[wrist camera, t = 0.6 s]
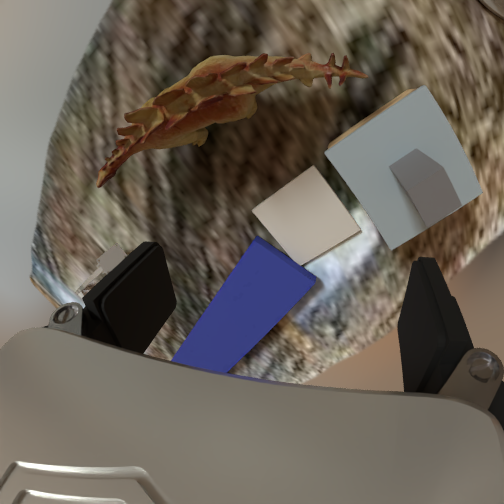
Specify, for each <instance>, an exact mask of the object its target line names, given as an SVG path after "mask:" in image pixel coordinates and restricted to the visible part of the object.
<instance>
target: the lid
mask: <svg viewBox="0 0 504 504" xmlns="http://www.w3.org/2000/svg"><path fill="white" fill-rule="evenodd" d="M324 154H325V155H326V156H327V158H328V159H329V160H330V161H331V163H332V164H333V165H334V167H335V168H336V169H337V171H338V172H339V174H340V175H341V176H342V178H343V179H344V180H345V182H346V183H347V185H348V186H349V187H350V189H351V190H352V192H353V193H354V195H355V196H356V197H357V199H358V200H359V202H360V203H361V205H362V206H363V208H364V209H365V211H366V212H367V214H368V215H369V217H370V218H371V220H372V221H373V223H374V224H375V226H376V227H377V229H378V230H379V232H380V234H381V235H382V237H383V238H384V240H385V242H386V243H387V245H388V246H389V248H390V250H393V249H395V248H396V247H398V246H400V245H401V244H403V243H405V242H406V241H408V240H410V239H411V238H413V237H415V236H416V235H418V234H420V233H421V232H423V231H425V230H426V229H428V228H429V227H431V226H433V225H434V224H436V223H437V222H439V221H441V220H442V219H444V218H445V217H447V216H448V215H450V214H452V213H453V212H455V211H456V210H458V209H459V208H461V207H462V206H464V205H465V204H467V203H468V202H470V201H471V200H473V199H474V198H476V197H477V196H479V195H480V194H482V193H483V192H482V189H481V187H480V185H479V182H478V180H477V178H476V175H475V173H474V171H473V169H472V167H471V164H470V162H469V160H468V158H467V156H466V154H465V152H464V150H463V148H462V146H461V144H460V142H459V140H458V139H457V137H456V135H455V133H454V131H453V129H452V128H451V126H450V124H449V122H448V121H447V119H446V117H445V115H444V114H443V112H442V110H441V109H440V107H439V106H438V104H437V102H436V101H435V99H434V98H433V96H432V95H431V93H430V91H429V90H428V88H427V87H426V86H425V85H422V86H421V87H419V88H418V89H416V90H415V91H413V92H412V93H410V94H409V95H407V96H405V97H404V98H402V99H401V100H399V101H398V102H396V103H395V104H393V105H392V106H390V107H389V108H387V109H386V110H384V111H383V112H381V113H380V114H378V115H377V116H376V117H374V118H373V119H371V120H370V121H368V122H367V123H365V124H364V125H362V126H361V127H359V128H358V129H356V130H355V131H354V132H352V133H351V134H349V135H348V136H346V137H345V138H344V139H342V140H341V141H339V142H338V143H336V144H335V145H334V146H332V147H331V148H329V149H328V150H326V151H325V153H324Z"/></svg>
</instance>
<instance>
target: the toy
mask: <svg viewBox="0 0 504 504" xmlns="http://www.w3.org/2000/svg"><path fill="white" fill-rule="evenodd" d="M311 59H312V56H311V54H310V53H308V54H305V55H303V56H301V57H300V58H299V59H294V57H277V56H274V57H271V56H268V54H264V53H263V54H262V55H260V56H259V57H254V56H239V57H233V56H229V55H219V56H213V57H209V58H208V59H206V60H205V61H203V62H201V63H199V64H198V65H197V66H196V67H195V68H193V69H192V71H191V72H190V74H189V75H188V76H187V77H185V78H184V79H182V80H181V81H179V82H177V83H176V84H174V85H173V86H171V87H170V88H166V89H165V90H163V91H162V92H161V93H160V94H159V95H158V96H157V97H155V98H151V99H150V100H149V101H147V102H146V103H145V104H144V105H143V106H142V107H141V109H138V110H135V111H132V112H129V113H125V114H124V118H125V120H126V121H127V122H128V123H132V125H131V126H129V127H126V128H117V132H118V135H122V136H126V137H125V138H124V139H121V140H116V145H117V146H119V147H118V148H117V149H115V150H113V151H112V154H113V155H112V156H111V157H110V158H108V157H107V158H105V160H107V163H106V164H105V165H104V166H103V167H102V168H101V169H100V171H99V172H98V176H99V177H98V180H97V183H96V185H97V187H98V188H100V187H101V186H103V185H104V184H105V183H106V182H107V181H108V180H109V179H111V178H112V177H114V176H115V174H116V171H117V169H118V168H119V167H120V166H121V165H122V164H123V163H124V162H125V161H126V160H127V159H128V158H129V157H130V156H131V155H133V154H135V153H137V152H140V151H142V150H145V149H150V148H153V149H166V148H172V147H176V146H182V145H186V144H189V143H192V142H193V145H196V144H197V145H198V147H199V146H201V145H203V144H204V143H205V142H206V140H207V136H208V130H207V129H206V128H205V127H206V126H208V125H211V124H213V123H215V122H216V123H226V122H230V121H237V120H240V119H243V118H245V117H247V119H248V118H251V117H252V116H253V115H254V113H255V112H256V111H257V103H256V100H255V95H257V94H259V93H260V92H262V91H264V90H265V89H267V88H269V87H270V86H272V85H274V84H276V83H280V82H284V81H288V80H292V79H299V80H300V81H301V82H302V83H303V84H304V85H305V86H307V87H311V86H312V82H313V79H314V78H320V77H325V79H326V81H327V84H328V87H329V88H331V84H332V77H333V76H339V78H340V81H339V86H341V85H342V84H343V83H344V82H345V79H346V77H358V78H368V76H367V75H365V74H363V73H361V72H359V71H356V70H352V69H350V68H349V61H348V58H347V55H346V56H344V59H343V63H342V67H339V66H336V65H335V55H334V53H332V54H331V56H330V59H329V62H328V63H327V64H325V65H322V64H318V63H316V62H313V61H312V60H311Z"/></svg>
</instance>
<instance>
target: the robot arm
mask: <svg viewBox="0 0 504 504" xmlns="http://www.w3.org/2000/svg"><path fill="white" fill-rule="evenodd" d="M479 1H480V2H481V3H482V4H483V5H484V6H486V7H487V8H488V9H489V10H490V11H492V12H493V13H494V14H495V15H497V16H499V17H500V18H502V19H504V0H479ZM82 299H83V301H84V303H85V306H86V307H85V308H84V309H83V308H82V306H81V305H80V304H79V303H76V302H71V303H67V304H64V305H62V306H60V307H59V308H57V309H56V310H55V311H54V312H53V313H52V315H51V317H50V320H49V325H48V326H45V327H41V328H30V329H26V330H22V331H20V332H19V333H17V334H16V335H14V336H13V337H12V338H11V339H10V340H9V341H8V342H7V343H5V345H3V346H2V347H1V349H0V504H504V382H503V381H502V379H503V375H504V367H503V365H502V362H501V360H500V359H499V358H498V357H497V355H495V354H494V353H493V352H491V351H489V350H487V349H482V348H474V347H473V344H472V341H471V338H470V335H469V332H468V329H467V327H466V324H465V322H464V319H463V316H462V313H461V311H460V308H459V306H458V304H457V301H456V299H455V297H453V296H451V294H450V291H449V289H448V287H447V284H446V282H445V280H444V277H443V275H442V273H441V271H440V268H439V266H438V264H437V262H436V260H435V258H428V257H419V258H418V260H417V261H413V263H412V267H411V272H410V276H409V281H408V285H407V289H406V294H405V298H404V302H403V305H402V309H401V313H400V317H399V320H398V337H399V343H400V353H401V362H402V372H403V383H404V392H398V391H374V390H358V389H346V388H333V387H322V386H312V385H303V384H294V383H286V382H279V381H272V380H265V379H258V378H252V377H246V376H240V375H235V374H229V373H224V372H218V371H213V370H209V369H204V368H199V367H194V366H190V365H185V364H181V363H177V362H173V361H169V360H165V359H160V358H157V357H153V356H149V355H145V354H143V353H144V352H145V350H146V349H147V348H148V346H149V345H150V343H151V342H152V340H153V339H154V338H155V336H156V335H157V333H158V332H159V330H160V329H161V328H162V326H163V325H164V323H165V322H166V321H167V319H168V318H169V316H170V315H171V314H172V312H173V311H174V309H175V308H176V302H177V301H176V297H175V293H174V290H173V286H172V282H171V278H170V274H169V271H168V267H167V263H166V259H165V255H164V251H163V248H162V247H161V246H160V245H159V244H158V243H157V242H143V243H142V244H140V245H139V246H138V247H137V248H136V249H135V250H134V251H132V252H131V253H130V254H129V255H128V256H127V257H126V258H125V259H123V260H122V261H121V262H120V263H119V264H118V265H117V266H116V267H115V268H114V269H112V270H111V271H110V272H109V273H108V274H107V275H106V276H105V277H104V278H103V279H102V280H101V281H100V282H99V283H97V284H96V285H95V286H94V287H93V288H92V289H91V290H90V291H89V292H88V293H87V294H86V295H85V296H84V297H83V298H82Z"/></svg>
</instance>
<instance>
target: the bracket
mask: <svg viewBox="0 0 504 504" xmlns="http://www.w3.org/2000/svg"><path fill="white" fill-rule="evenodd" d="M116 244H117V245H118V246H117V247H116ZM116 244H114V245H113V246H112V247H111V248H110V249H108V250H107V251H106V252H105V253H104V254H103V255H101V256H100V257H99V258H98V259H97V263H98V265H97V267H98V266H99V265H100V267H99V268H98V269H97V270H96V271H95V272H94V273H93V274H92V275H91V276H90V277H89V278H88V279H87V280H86V281H85V282H84V283H83V284H82V285H81V286H80V287H79V289H78V290H77V291H76V292H75V293H76V294H77V295H78V294H79V293H80V292H81V291H82V290H83V289H84V288H85V287H86V286H87V285H88V284H89V283H90V282H92V281H93V280H94V279H95V278H96V277H97V276H98V275H99V274H100V273H101V272H102V271H103V270H104V272H103V273H106V274H108V273H107V271H109V272H110V271H111V270H112V269H114V268H115V267H116V266H117V265H118V264H119V263H120V262H121V261H122V260H123V259H125V256H127V254H126V253H125V252H124V251H123V249H122V248H121V247H120V246H119V244H118V243H116ZM98 260H100V262H98Z"/></svg>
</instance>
